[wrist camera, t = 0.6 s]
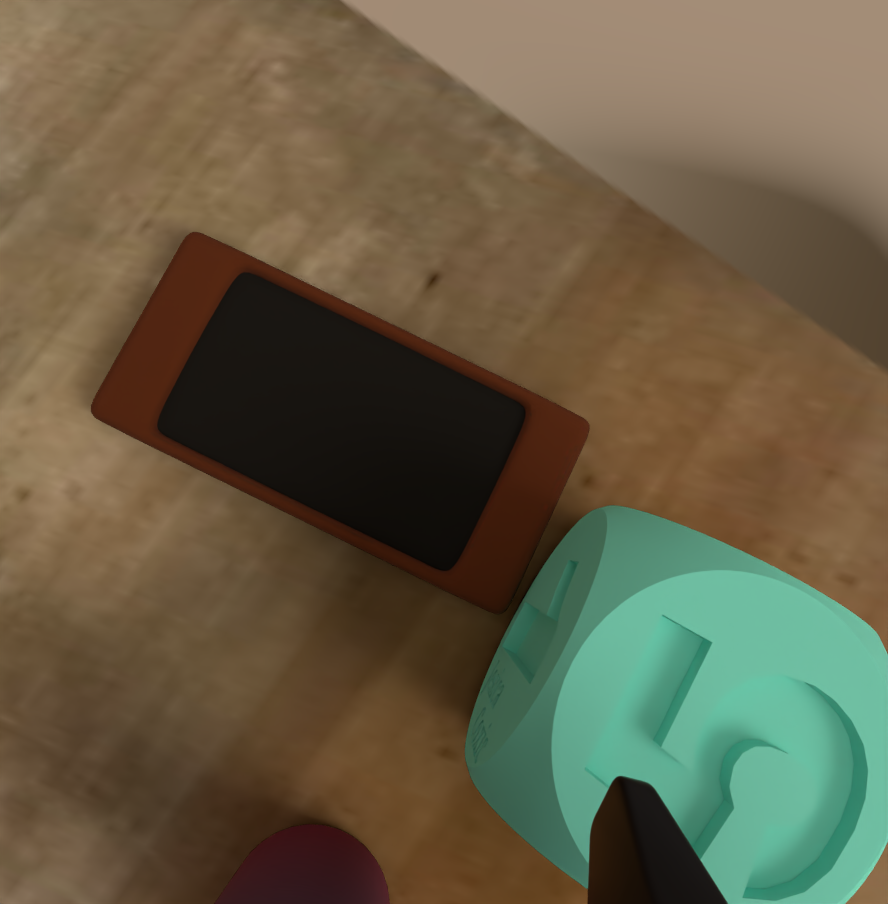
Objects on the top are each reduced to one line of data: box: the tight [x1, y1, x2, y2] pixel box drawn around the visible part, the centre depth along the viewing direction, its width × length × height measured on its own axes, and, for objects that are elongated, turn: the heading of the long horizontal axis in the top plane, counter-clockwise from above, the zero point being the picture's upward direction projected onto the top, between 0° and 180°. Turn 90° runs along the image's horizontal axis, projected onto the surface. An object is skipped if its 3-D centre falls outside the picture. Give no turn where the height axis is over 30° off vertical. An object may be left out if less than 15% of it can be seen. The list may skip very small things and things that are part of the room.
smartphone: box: [91, 232, 589, 614], centre depth 23 cm, size 7×1×15 cm
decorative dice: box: [465, 505, 888, 904], centre depth 19 cm, size 8×8×8 cm
